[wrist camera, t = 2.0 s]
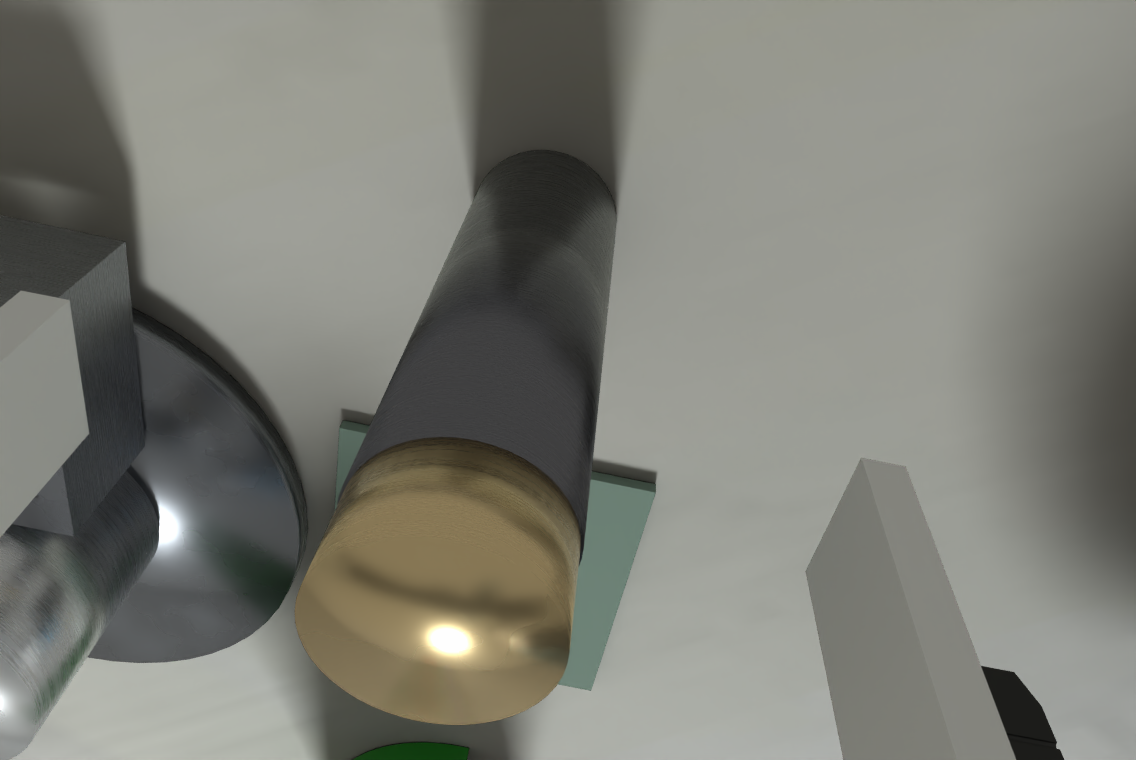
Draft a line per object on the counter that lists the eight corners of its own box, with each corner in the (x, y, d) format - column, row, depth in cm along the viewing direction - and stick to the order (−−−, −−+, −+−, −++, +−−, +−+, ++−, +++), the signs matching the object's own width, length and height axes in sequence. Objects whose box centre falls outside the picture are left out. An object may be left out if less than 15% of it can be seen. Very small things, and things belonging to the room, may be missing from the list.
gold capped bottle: (631, 167, 23) (599, 567, 11) (599, 297, 25) (546, 747, 13) (483, 135, 22) (293, 505, 11) (464, 268, 25) (289, 697, 13)
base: (314, 333, 26) (303, 350, 25) (302, 675, 35) (293, 697, 34) (-237, 218, 26) (-267, 232, 25) (-107, 596, 34) (-126, 615, 34)
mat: (655, 484, 28) (655, 492, 28) (591, 681, 34) (590, 690, 33) (343, 420, 28) (339, 428, 27) (330, 630, 33) (327, 638, 33)
